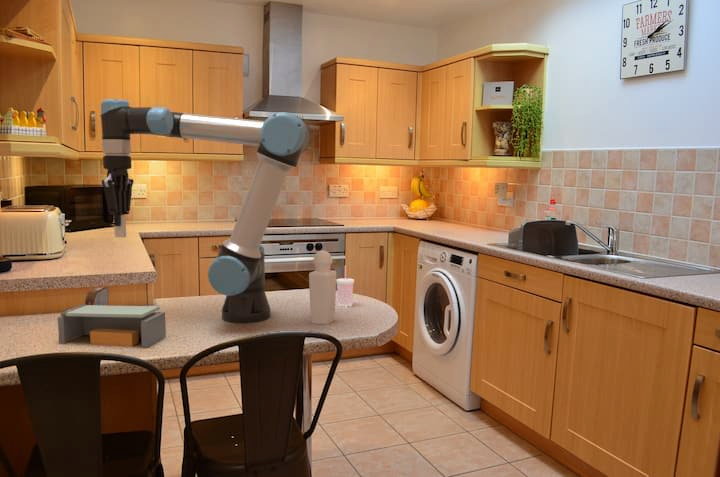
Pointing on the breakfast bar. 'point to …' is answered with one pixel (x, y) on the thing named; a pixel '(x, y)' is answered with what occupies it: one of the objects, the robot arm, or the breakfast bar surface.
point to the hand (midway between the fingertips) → (120, 237)
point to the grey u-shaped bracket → (114, 326)
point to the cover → (110, 311)
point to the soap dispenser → (322, 289)
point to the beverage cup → (345, 291)
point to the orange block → (114, 337)
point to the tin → (97, 296)
